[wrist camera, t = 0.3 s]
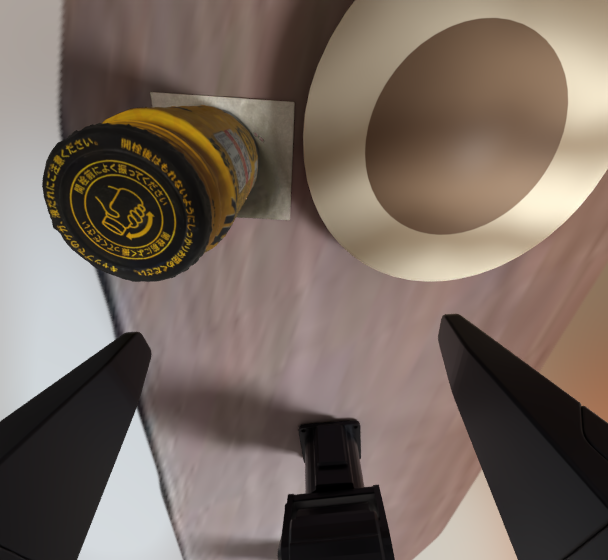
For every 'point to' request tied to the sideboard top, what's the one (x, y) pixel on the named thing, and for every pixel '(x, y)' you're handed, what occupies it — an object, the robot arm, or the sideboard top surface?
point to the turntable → (456, 129)
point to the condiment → (169, 181)
